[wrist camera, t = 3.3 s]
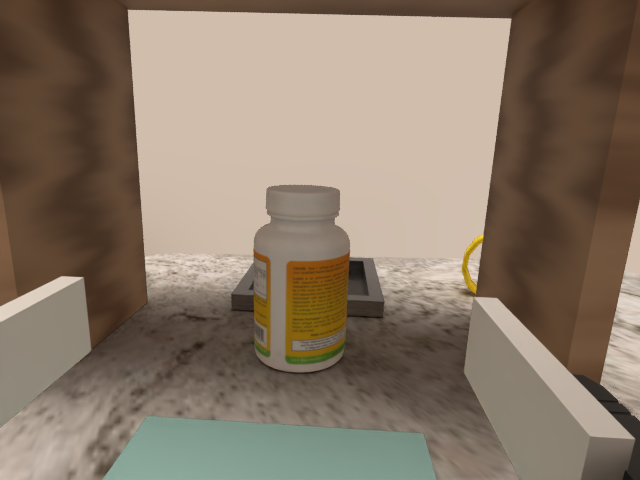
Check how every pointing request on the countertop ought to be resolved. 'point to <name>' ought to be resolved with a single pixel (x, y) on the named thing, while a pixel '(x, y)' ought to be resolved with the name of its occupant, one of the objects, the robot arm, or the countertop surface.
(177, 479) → the pad
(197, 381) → the countertop surface
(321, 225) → the supplement bottle
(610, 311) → the tunnel
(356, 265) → the tray
